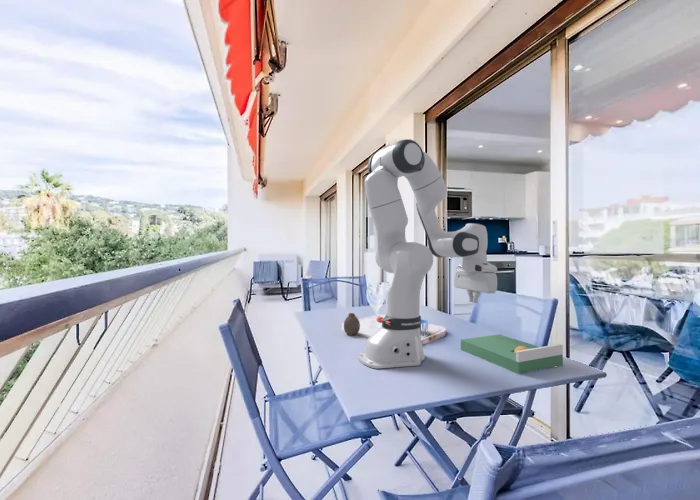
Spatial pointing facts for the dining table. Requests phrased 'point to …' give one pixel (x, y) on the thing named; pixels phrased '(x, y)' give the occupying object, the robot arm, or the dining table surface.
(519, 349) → the ball
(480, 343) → the green
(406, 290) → the robot arm
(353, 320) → the vase
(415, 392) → the dining table surface
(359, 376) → the dining table surface
